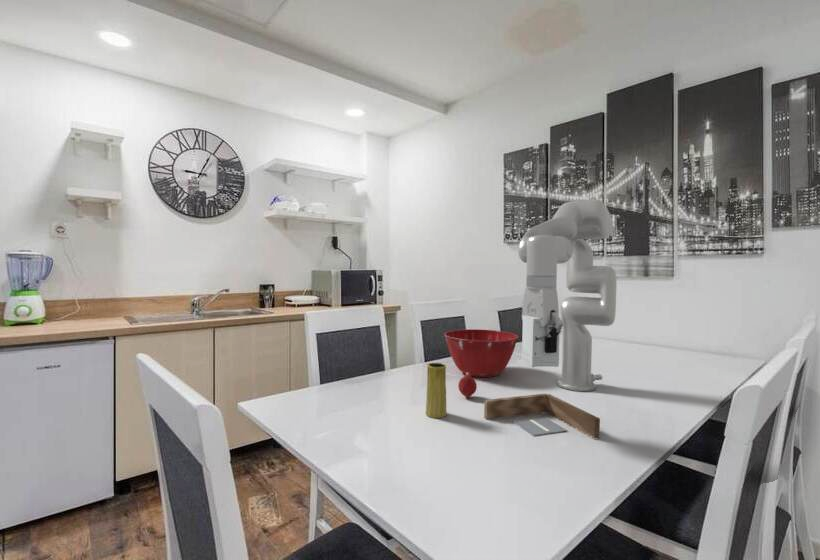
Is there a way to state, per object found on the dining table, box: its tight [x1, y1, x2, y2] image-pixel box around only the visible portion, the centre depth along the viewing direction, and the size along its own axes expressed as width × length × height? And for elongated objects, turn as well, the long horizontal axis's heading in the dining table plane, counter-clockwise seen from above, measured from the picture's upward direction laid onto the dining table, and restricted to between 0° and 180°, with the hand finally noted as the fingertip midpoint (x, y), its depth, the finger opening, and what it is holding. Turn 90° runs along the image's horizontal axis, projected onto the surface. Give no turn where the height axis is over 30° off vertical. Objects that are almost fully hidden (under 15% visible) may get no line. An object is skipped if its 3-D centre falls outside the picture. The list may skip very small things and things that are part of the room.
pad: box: [511, 415, 568, 437], centre depth 110 cm, size 10×10×1 cm
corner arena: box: [483, 393, 601, 439], centre depth 109 cm, size 21×21×5 cm
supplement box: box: [521, 315, 560, 368], centre depth 109 cm, size 7×7×13 cm
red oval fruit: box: [458, 373, 477, 399], centre depth 133 cm, size 6×6×8 cm
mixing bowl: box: [444, 328, 519, 378], centre depth 163 cm, size 28×28×15 cm
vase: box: [425, 362, 448, 419], centre depth 118 cm, size 6×6×14 cm
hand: (540, 348), depth 109 cm, fingers closed on supplement box, 8 cm apart
